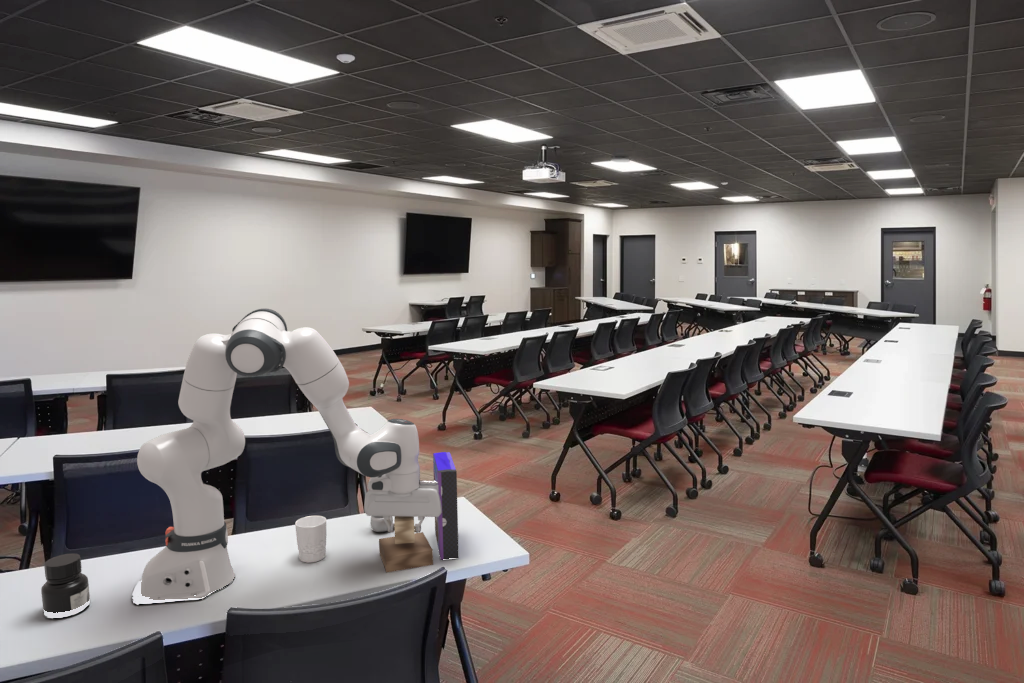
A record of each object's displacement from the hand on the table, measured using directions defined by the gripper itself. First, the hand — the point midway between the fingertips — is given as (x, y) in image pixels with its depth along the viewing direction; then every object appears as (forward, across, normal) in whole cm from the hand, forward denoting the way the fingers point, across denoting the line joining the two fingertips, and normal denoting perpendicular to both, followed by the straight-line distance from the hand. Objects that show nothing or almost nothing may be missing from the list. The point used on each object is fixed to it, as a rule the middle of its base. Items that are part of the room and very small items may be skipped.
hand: (404, 531), depth 174 cm
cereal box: (+8, -10, -8) cm, 15 cm away
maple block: (+2, 0, 0) cm, 2 cm away
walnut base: (+8, 0, 0) cm, 8 cm away
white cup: (+8, +25, 0) cm, 26 cm away
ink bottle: (+8, +71, +29) cm, 77 cm away
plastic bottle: (+8, +11, -18) cm, 23 cm away
